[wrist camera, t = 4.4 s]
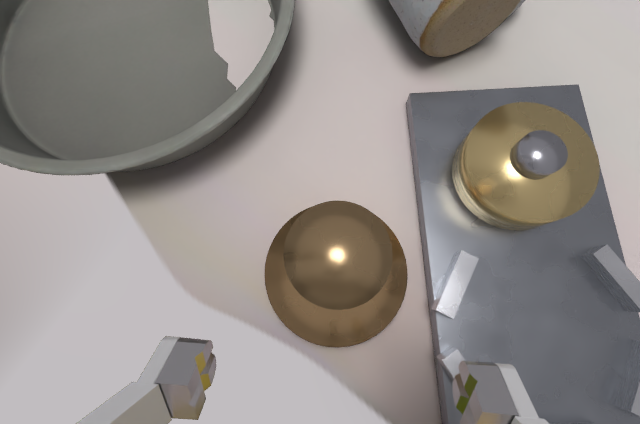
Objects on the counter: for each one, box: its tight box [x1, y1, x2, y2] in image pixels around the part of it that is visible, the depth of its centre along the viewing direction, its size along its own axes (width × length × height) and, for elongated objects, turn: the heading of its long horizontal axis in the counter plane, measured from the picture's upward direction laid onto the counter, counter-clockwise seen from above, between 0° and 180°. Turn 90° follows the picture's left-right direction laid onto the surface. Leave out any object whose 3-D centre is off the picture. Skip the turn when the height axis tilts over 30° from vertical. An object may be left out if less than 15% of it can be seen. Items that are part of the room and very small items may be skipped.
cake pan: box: [0, 0, 295, 175], centre depth 24 cm, size 25×25×4 cm
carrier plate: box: [406, 85, 640, 424], centre depth 18 cm, size 12×21×5 cm, turn 2°
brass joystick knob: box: [265, 201, 407, 347], centre depth 16 cm, size 8×8×10 cm
